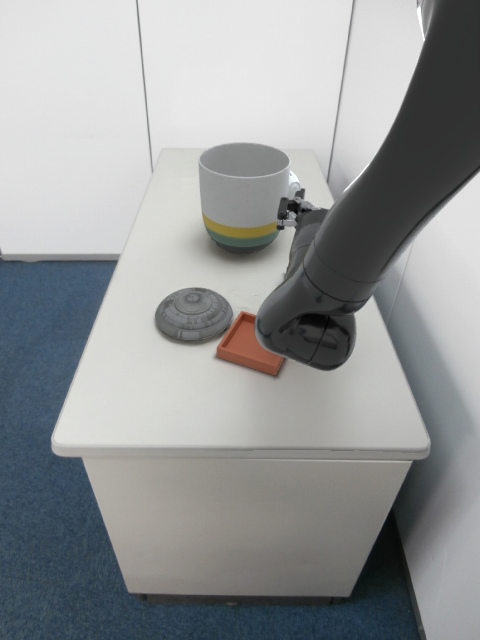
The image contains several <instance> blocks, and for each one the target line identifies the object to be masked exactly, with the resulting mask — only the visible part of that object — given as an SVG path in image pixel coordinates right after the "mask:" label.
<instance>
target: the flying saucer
mask: <svg viewBox="0 0 480 640" xmlns="http://www.w3.org/2000/svg"><path fill="white" fill-rule="evenodd" d="M233 316H234V312H233V307H232V305H231V304H230V302H229V300H227V299H226V298H225V297H224V296H222V294H220V293H218V292H216V291H215V290H212V289H209V288H205V287H198V286H195V287H193V286H192V287H186V288H181V289H178V290H176V291H173V292H172V293H170V294H169V295H167V296H166V297H165V298H163V299H162V300H161V302H160V303H159V304H158V306H157V308H156V310H155V313H154V320H155V323H156V326H157V327H158V328H159V330H161V331H162V332H163V333H165V335H168V336H170V337H173V338H175V339H178V340H184V341H200V340H206V339H209V338H212V337H214V336H217V335H218V334H220V333H222V332H223V331H224V330H226V328H228V326H229V325H230V324H231V322H232V320H233V318H234V317H233Z"/></svg>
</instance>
